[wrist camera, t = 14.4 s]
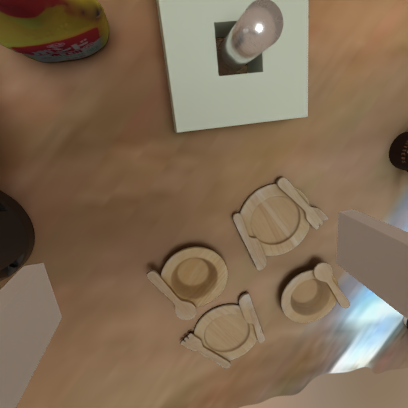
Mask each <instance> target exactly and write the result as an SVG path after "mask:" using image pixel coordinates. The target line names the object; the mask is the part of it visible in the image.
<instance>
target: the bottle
mask: <svg viewBox="0 0 408 408" xmlns="http://www.w3.org/2000/svg"><path fill="white" fill-rule="evenodd" d="M108 37H109V25H108V21H107V19H106V15H105V13H104V9H103V7H102V6H101V5H100V3H99V2H98V1H97V0H0V44H2V45H3V46H5V47H7V48H10V49H12V50H14V51H16V52H19V53H22V54H24V55H25V56H27V57H30V58H32V59H34V60H37V61H40V62H62V61H68V60H76V59H81V58H85V57H88V56H90V55H92V54H94V53H95V52H97V51H98V50H100V49H101V48H102V47H104V46H105V44H106V43H107V40H108Z"/></svg>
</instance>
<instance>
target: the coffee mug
mask: <svg viewBox="0 0 408 408" xmlns="http://www.w3.org/2000/svg"><path fill="white" fill-rule="evenodd" d="M389 158H390V161H391V163H392V164H393V165H394V166H395V167H397V168H400V169H403V170H406V171H408V132H405V133H402V134H400V135H399V136H398V137H397V138H396V139H395V140H394V141H393V143H392V145H391V147H390V151H389Z"/></svg>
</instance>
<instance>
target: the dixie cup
mask: <svg viewBox="0 0 408 408" xmlns="http://www.w3.org/2000/svg"><path fill="white" fill-rule="evenodd" d="M403 322H404V324H405V325H406V326H407V328H408V319H407V318H406V317H404V318H403Z"/></svg>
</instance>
